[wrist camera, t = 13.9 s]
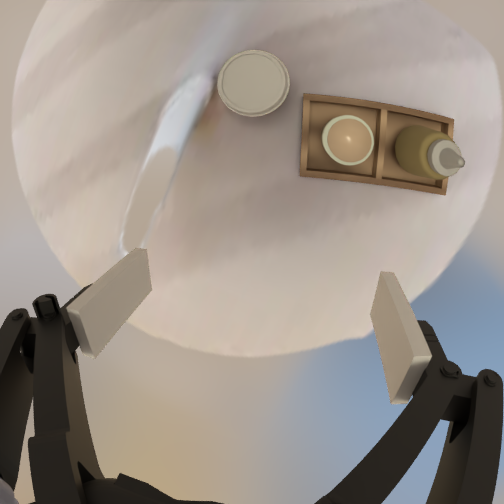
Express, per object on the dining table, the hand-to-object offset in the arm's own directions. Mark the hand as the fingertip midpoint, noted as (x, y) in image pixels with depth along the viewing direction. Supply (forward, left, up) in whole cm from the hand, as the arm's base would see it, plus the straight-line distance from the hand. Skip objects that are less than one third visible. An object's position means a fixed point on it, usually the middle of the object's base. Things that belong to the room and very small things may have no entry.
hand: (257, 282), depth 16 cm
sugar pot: (-7, +8, -36) cm, 37 cm away
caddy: (-7, +14, -37) cm, 40 cm away
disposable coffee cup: (-14, -5, -37) cm, 40 cm away
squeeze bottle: (-7, +20, -36) cm, 42 cm away
